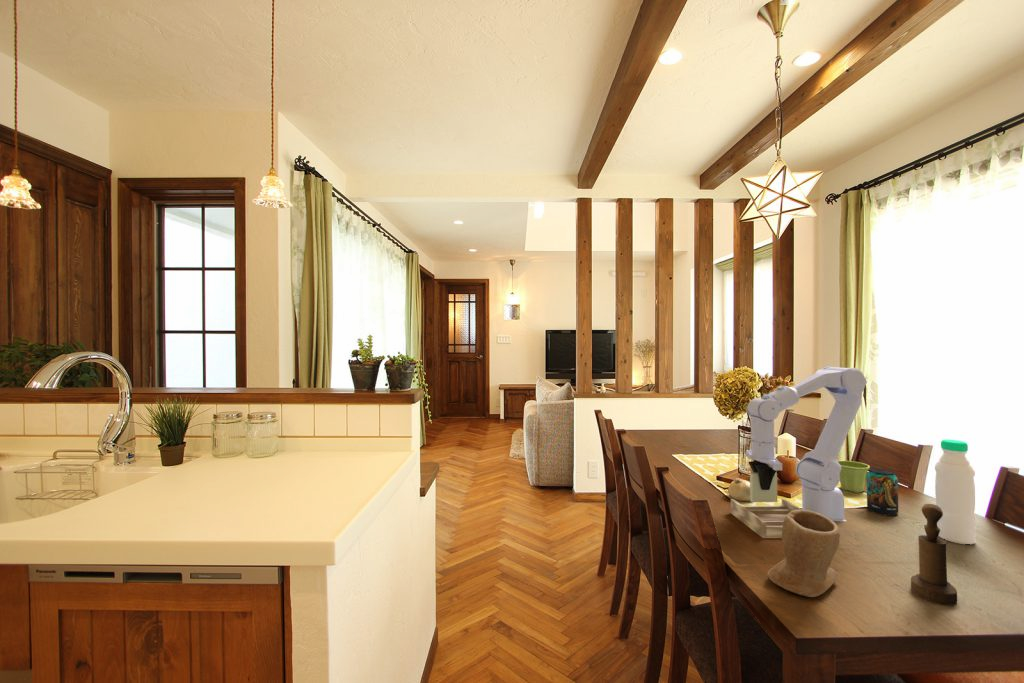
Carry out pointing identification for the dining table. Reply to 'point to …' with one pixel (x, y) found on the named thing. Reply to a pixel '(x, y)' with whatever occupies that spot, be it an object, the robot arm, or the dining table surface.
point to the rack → (757, 524)
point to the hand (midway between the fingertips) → (763, 488)
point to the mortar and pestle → (933, 562)
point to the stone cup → (807, 553)
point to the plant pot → (853, 475)
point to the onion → (740, 490)
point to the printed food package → (882, 491)
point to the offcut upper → (771, 517)
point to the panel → (760, 494)
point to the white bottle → (955, 493)
